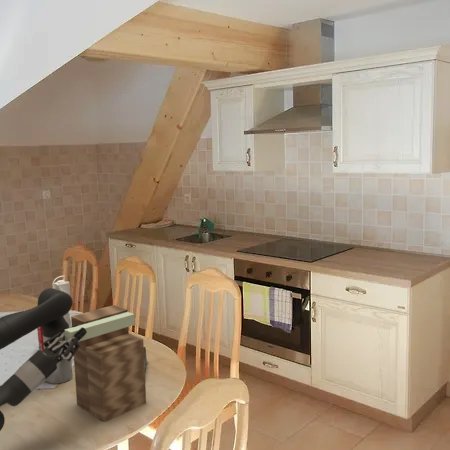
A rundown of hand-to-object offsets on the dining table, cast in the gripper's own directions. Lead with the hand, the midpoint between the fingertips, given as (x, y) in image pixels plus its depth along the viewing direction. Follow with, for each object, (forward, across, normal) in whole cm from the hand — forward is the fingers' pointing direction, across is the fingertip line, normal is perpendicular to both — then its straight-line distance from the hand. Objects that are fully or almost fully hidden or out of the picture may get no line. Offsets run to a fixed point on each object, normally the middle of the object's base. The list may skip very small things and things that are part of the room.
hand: (81, 328), depth 156 cm
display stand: (-5, +4, +32) cm, 32 cm away
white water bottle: (+11, +70, +42) cm, 82 cm away
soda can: (+1, +61, +36) cm, 70 cm away
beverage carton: (+12, +18, +42) cm, 47 cm away
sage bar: (+4, 0, +6) cm, 8 cm away
